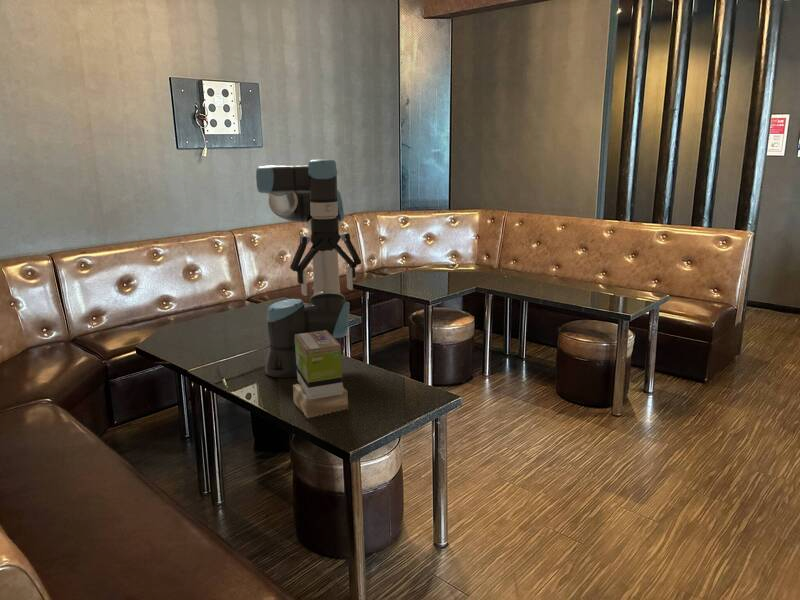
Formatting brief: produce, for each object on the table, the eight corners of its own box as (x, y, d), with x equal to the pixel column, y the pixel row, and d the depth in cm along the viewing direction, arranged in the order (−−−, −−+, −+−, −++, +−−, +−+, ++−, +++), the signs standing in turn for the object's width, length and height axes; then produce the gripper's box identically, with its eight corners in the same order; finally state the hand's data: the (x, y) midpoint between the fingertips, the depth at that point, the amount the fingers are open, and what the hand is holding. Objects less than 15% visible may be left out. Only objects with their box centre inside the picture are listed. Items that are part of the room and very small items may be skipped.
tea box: (296, 381, 175) (293, 332, 172) (329, 376, 179) (327, 328, 175) (308, 400, 162) (305, 348, 158) (344, 395, 166) (342, 343, 162)
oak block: (293, 404, 174) (292, 384, 173) (332, 396, 180) (331, 377, 178) (307, 420, 164) (306, 399, 163) (348, 411, 170) (347, 391, 168)
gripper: (283, 221, 157) (288, 300, 163) (371, 215, 167) (373, 289, 173) (276, 218, 164) (280, 293, 169) (361, 212, 174) (363, 283, 180)
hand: (327, 291), depth 171 cm, fingers open, 13 cm apart
